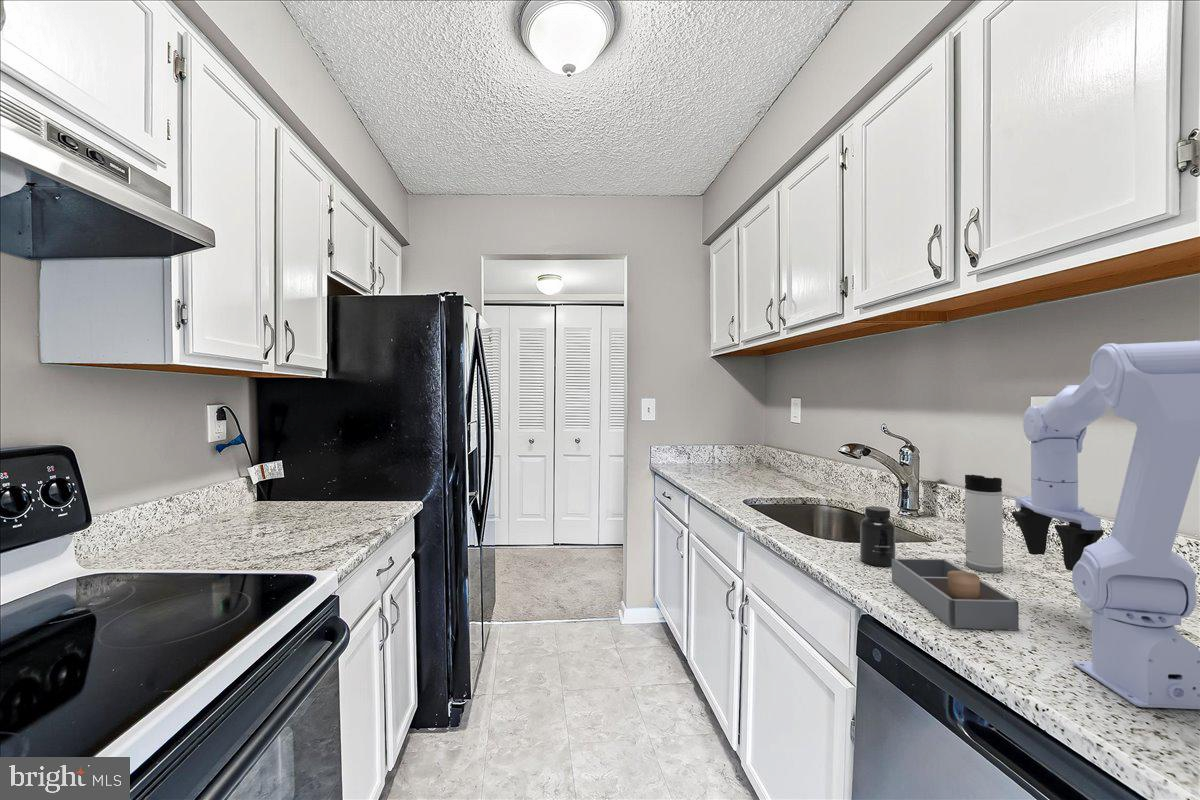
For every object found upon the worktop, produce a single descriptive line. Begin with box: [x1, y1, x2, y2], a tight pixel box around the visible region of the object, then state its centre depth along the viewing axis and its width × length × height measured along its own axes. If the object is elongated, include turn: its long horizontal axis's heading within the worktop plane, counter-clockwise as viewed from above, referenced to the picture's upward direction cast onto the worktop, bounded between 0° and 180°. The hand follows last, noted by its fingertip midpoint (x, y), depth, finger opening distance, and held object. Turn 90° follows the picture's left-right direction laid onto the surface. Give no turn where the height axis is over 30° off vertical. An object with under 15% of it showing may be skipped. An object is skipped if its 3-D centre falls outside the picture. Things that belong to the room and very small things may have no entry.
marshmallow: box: [1073, 600, 1092, 631], centre depth 78 cm, size 5×1×4 cm, turn 68°
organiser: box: [891, 558, 1020, 631], centre depth 89 cm, size 20×10×4 cm, turn 174°
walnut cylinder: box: [947, 570, 981, 600], centre depth 84 cm, size 4×4×6 cm
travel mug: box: [964, 474, 1004, 574], centre depth 105 cm, size 6×7×20 cm
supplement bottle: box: [859, 505, 896, 568], centre depth 110 cm, size 7×7×12 cm
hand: (1054, 561), depth 82 cm, fingers open, 7 cm apart
